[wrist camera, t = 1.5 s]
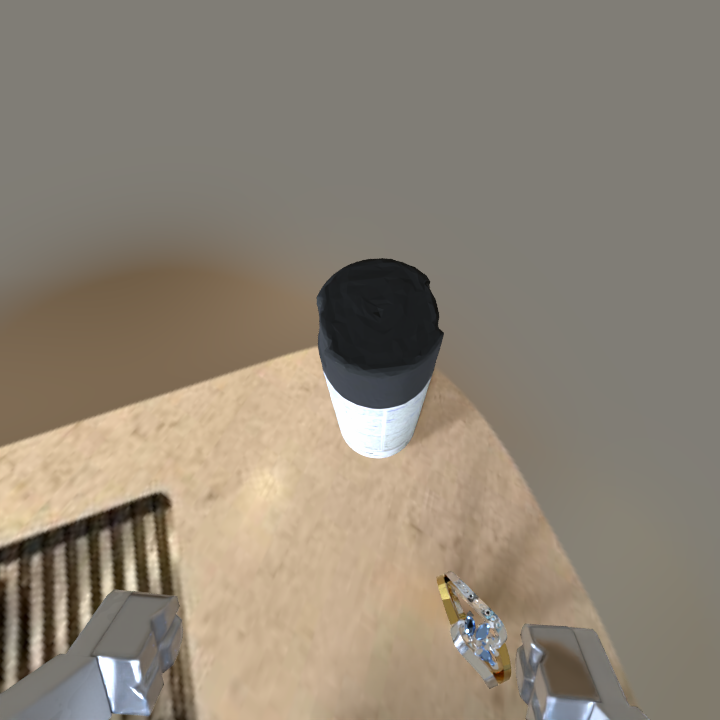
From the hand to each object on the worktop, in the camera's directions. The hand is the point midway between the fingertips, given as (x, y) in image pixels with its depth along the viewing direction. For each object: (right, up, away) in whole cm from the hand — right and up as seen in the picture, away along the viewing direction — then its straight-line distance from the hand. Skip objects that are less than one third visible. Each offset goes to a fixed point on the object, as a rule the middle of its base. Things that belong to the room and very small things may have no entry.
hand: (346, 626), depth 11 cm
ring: (+8, -13, +23) cm, 28 cm away
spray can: (+2, +1, +30) cm, 30 cm away
